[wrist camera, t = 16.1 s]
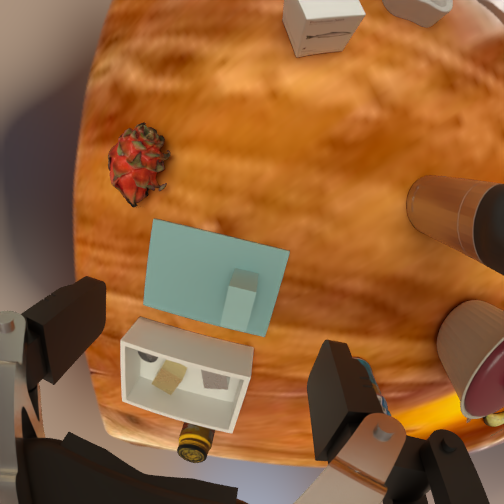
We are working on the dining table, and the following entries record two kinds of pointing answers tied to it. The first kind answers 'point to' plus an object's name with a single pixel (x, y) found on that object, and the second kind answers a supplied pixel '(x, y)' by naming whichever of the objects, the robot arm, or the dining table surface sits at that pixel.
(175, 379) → the part block
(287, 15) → the supplement box
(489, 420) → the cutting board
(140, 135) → the dragon fruit
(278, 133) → the dining table surface
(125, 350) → the tub
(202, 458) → the condiment
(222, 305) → the lid
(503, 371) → the canister
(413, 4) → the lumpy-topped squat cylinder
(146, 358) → the part bushing
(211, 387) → the part block
